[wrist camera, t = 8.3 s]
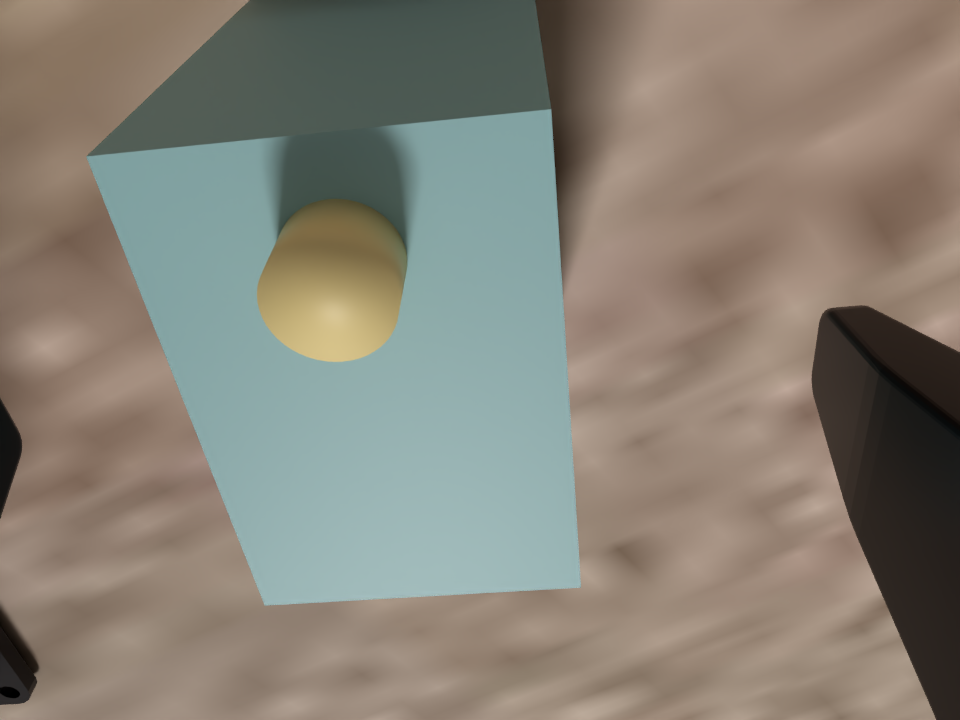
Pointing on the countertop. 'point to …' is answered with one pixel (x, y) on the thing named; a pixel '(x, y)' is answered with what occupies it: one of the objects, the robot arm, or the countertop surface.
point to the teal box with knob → (363, 292)
